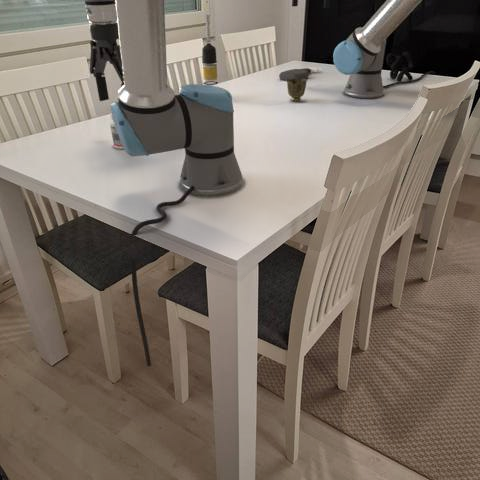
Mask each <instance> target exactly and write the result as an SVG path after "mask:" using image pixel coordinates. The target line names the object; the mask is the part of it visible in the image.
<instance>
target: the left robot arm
mask: <svg viewBox="0 0 480 480" xmlns="http://www.w3.org/2000/svg"><path fill="white" fill-rule="evenodd" d="M84 4H85V13H86V16H87V20H88V22H89V26H88V28H89V33H90V38H91V39H92V40H90V41H89V44H90V59H89V73H90V74H91V75H93V77H94V78H95V82H96V83H95V84H96V89H97V95H98V99H99V102H104V101H107V100H110V97H109V90H108V85H107V79H106V75H105V70H106V67H107V63H108V62H109V64H111V65H112V67H113V68H114V70H115V72H116V74H117V76H118V78H119V80H120V82H121V84H120V88H119V89H118V91H117V99H118V100H117V101H115V102H113V103H111V104H110V112H111V114H112V117H113V120H114V123H115V127H116V130H117V133H118V135H119V138H120V141H121V143H122V145H123V148H124V149H123V150H124V151H125V153H126V154H127V155H128V156H130V157H133V158H134V157H142V156H146V157H149V156H150V155H156V154H161V153H167V152H172V151H178V150H183V149H184V154H185V155H184V158H183V164H182V168H181V171H180V177H179V183H180V184H179V185H180V188H181V189H182V191H184V193H183V194H182V196H181V197H180V198H179V199H177V200H173V201H163V202H160V203H159V204H157V205H156V208H155V210H156V212H157V213H158V214H159V215H160V217H158V218H157V217H156V218H152V219H151V218H150V219H147V220H143V221H141V222H139V223H138V224H137V225H135V226H134V228H133V229H132V232H131V234H130V236H136V235H137V234H138V232H139V231H140V230H141V229H142V228H143V227H146V226H149V225H155V224H160V223H162V222H164V221H165V220H166V219H167V213H166V212H165V211H164V210H163V209H162V208H164V207H173V206H175V207H176V206H178V205H180V204H182V203H184V202H185V200H186V199H187V197H189V195H194V196H199V197H221V196H224V195H229V194H232V193H234V192H235V191H237V190H239V189H240V188H241V187H242V185H243V174H242V171H241V168H240V165H239V163H238V160H237V157H236V154H235V132H234V131H235V130H234V127H235V126H234V112H235V110H234V103H233V96H232V94H231V92H230V91H229V90H227V89H225V88H223V87H220V86H216V85H206V84H201V83H199V84H197V83H193V84H183V85H181V86H180V87H179V90H178V93H179V94H176V92H175V90H174V89H173V88H172V87H171V86H170V85H169V84H168V68H167V67H168V66H167V41H166V16H165V15H166V13H165V0H84ZM117 40H119V44H118V42H117ZM113 120H112V121H113ZM130 267H131V268H130V269H131V281H132V293H133V299H134V304H135V311H136V317H137V321H138V326H139V332H140V335H141V339H142V345H143V350H144V356H145V363H146V366H147V367H151V366H152V359H151V356H150V349H149V344H148V339H147V333H146V329H145V324H144V319H143V313H142V308H141V303H140V295H139V287H138V286H139V285H138V277H137V260H135V259H130Z"/></svg>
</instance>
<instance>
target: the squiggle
mask: <svg viewBox="0 0 480 480" xmlns="http://www.w3.org/2000/svg"><path fill="white" fill-rule="evenodd" d="M401 57H402V59H401ZM391 59H392V60H391ZM393 60H394V61H393ZM385 61H386V64H387V67H390V68H391V70H390V72H389V78H390V79H391V80H395V79H396V82H403V79H404V76H406V78H407V80H408V81H411V80H414V77H413V75H412V74H411V73H410V72H409V71H410V70H412V69H413V68H414V64H413V61H412V57H411V54H410V53H409V52H408V51H403V53H402V54H401V55H396V54H394V53H392V52H390V53H387V55H386V57H385ZM406 62H407V65H408V66H407V67H405V66H404V65H405V64H406ZM400 70H401V71H400Z"/></svg>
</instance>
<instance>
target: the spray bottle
mask: <svg viewBox="0 0 480 480" xmlns="http://www.w3.org/2000/svg"><path fill="white" fill-rule="evenodd" d="M322 71H323V68H319V67H310V66H308V67H306V68H293V69H288V70H283V71H281V72H280V73H279V75H278V78H279V79H280V80H281V81H287V79H289V81H290V79H291V80H292V78H296V79H297V78H299V80H301V79H302V78H303V79H306V80H307V78H308V77H309V75H310V74H311V73H312V72H313V73H314V72H315V73H316V72H322Z"/></svg>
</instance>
